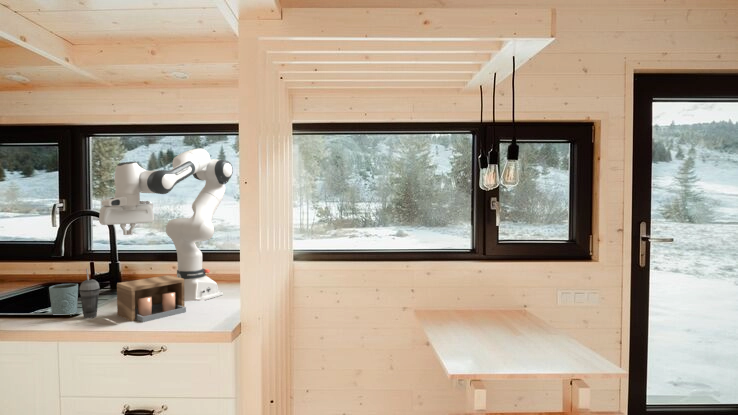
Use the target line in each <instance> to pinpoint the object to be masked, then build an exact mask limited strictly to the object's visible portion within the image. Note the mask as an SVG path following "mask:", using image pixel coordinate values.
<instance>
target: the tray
mask: <svg viewBox="0 0 738 415" xmlns="http://www.w3.org/2000/svg"><path fill="white" fill-rule="evenodd" d="M186 312H187V307H186V306H185V307H183V306H180V305H176V304H175V310H170V311H166V312H162V303H159V304H154V305H152V315H148V316H141V315H139V314H138V308H135V321H138V322H139V323H146V322H151V321H154V320H159V319H164V318H167V317H171V316H176V315H181V314H184V313H186Z"/></svg>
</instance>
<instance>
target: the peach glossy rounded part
mask: <svg viewBox="0 0 738 415" xmlns="http://www.w3.org/2000/svg"><path fill="white" fill-rule="evenodd" d="M170 310H175V292H164V293H162V312H166V311H170Z"/></svg>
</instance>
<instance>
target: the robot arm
mask: <svg viewBox="0 0 738 415" xmlns="http://www.w3.org/2000/svg"><path fill="white" fill-rule="evenodd" d="M233 173H234V169H233V165H232V163H231V162H230V161H228V160H226V159H217V158H212V159H211V156H210V153H209V152H208V151H207V150H205V149H204V148H201V147H200V148H199V147H198V148H193V149H190V150H187V151H183V152H182V153H179V154H177V155H176V156H174V158H173V160H172V169H169V170H167V169H161V170H159V169H158V170H147V169H145V168H143V167H141V166H140V165H139V164H138V162H136V161H124V162H123V161H122V162H119V163H118V164H117V165H116V167H115V172H114V185H115V192H114V196H113V197H110V198H107V199H104V200H103V199H102V201H101V205H102V206H101V208H100V209H99V215H98V216H99V217H98V221H99V224H100V225H102V226H110V225H111V226H112V225H119V228H120V229H121V230H122V232H123V235H124V236H131V235H133V233H134V232H133V231H134V230H135V228H136V224H147V223H148V224H149V223H153V222H154V221H155V215H154V204H153V203H152V201H150V200H141V198H140V196H141V194H157V195H167V194H169V193H170V192H171V191H172V190H173V189H174V188H175V186H176V185H177V184H179V183H181V182H182V181H185V180H186V179H187V178H189V177H190V176H193V177H194V179H195V180H197V181H198V180H199V181H205V183H204V187H203V188H202V189H201V190H200V192H199V193H198V195H197V196H196V197H195V200H194V201H193V202H192V204H191V209H192V211H193V214H192V216H190V217H178V218H172V219H170V220H169V221H168V222H167V223H166V226H165V232H166V235H167V236H168V238H170V239H171V241H172V242H173V245H174V247H175V251H176V254H177V255H176V256H177V270H176V277H179V278H183V279H184V302H190V301H192V302H193V301H194V302H195V301H196V302H198V301H199V302H200V301H207V300H210V299H213V298H217V297H220V296H224V292H223V291H222V290H219V287H218V283H217V282H216V281H215V280H213V279H212V278H211V277H209V276H207V275H206V274H210V272H211V270H210V269H208V268H206V269H205V268H203V252H202V251H201V249H199V247H198V246H197V244H196V242H198V243H199V242H205V241H209V240H210V239H212V237H213V236H214V234H215V226H214V223H213V222H212V220H213V217H214V215H215V213H216V210H217V209H218V207H219V206H220V204H221V203H222V201H223V198H224V196H225V193H226V185H225V184H227V183H229V181H230V180H231V178H232V175H233ZM127 224H128V225H129V229H128V230H127V228H126V227H127Z"/></svg>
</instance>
